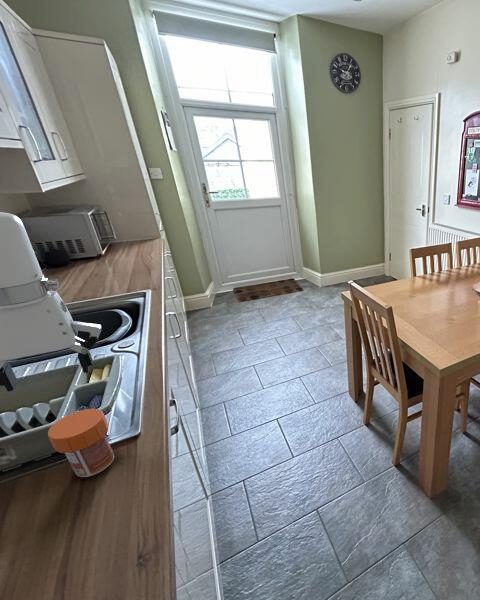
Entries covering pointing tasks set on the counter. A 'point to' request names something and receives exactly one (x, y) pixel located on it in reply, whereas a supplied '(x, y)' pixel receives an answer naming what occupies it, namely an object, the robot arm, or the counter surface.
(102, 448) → the pill bottle
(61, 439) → the cap
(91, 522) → the counter surface
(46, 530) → the counter surface
